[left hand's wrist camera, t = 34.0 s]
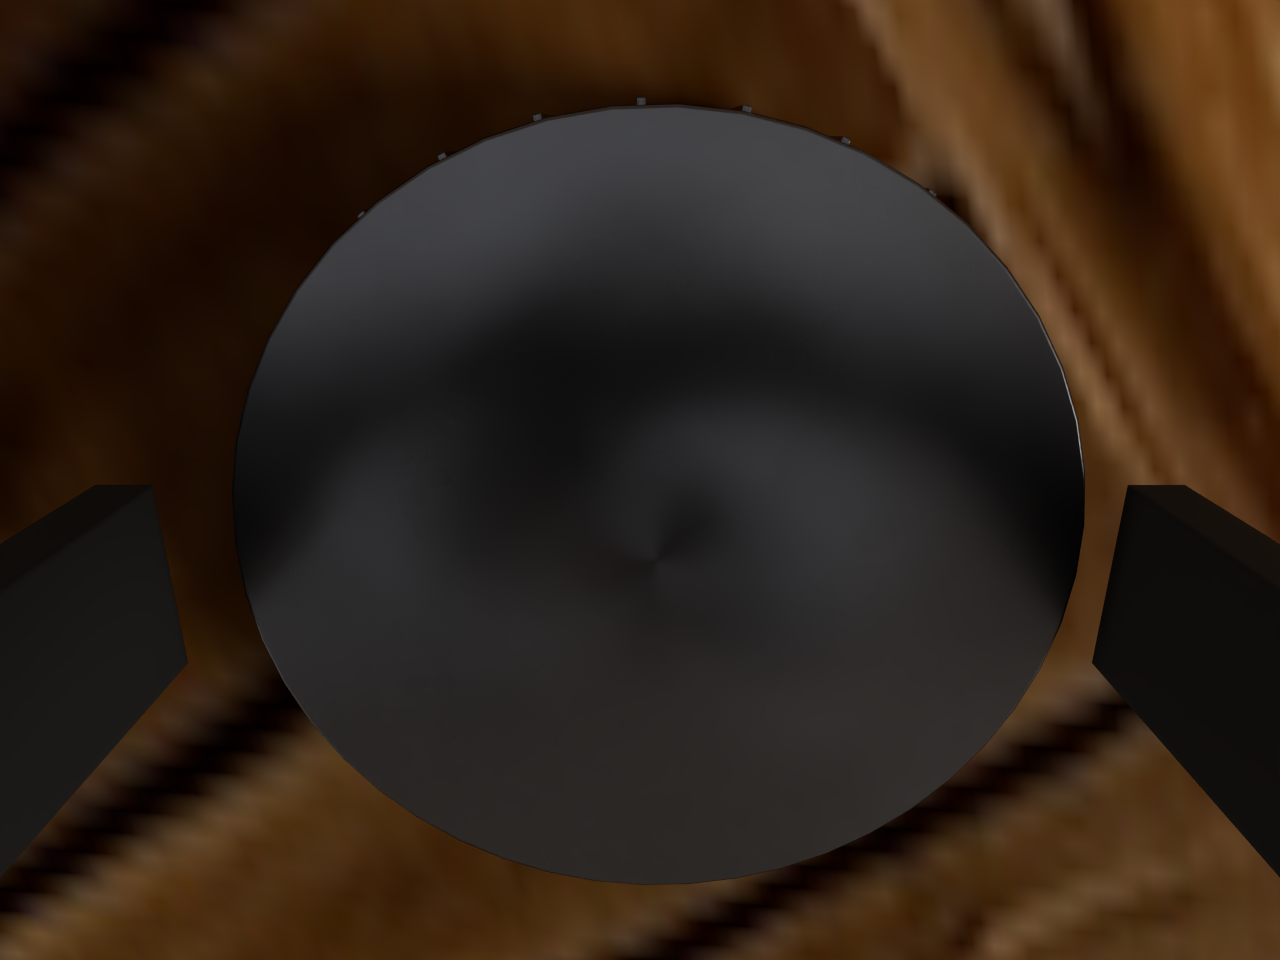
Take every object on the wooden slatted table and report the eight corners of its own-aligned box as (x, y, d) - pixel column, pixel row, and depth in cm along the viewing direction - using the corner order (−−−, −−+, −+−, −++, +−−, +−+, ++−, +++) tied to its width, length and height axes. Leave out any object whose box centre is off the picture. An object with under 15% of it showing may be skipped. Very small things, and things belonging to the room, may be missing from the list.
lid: (1185, 386, 13) (1284, 432, 11) (749, 885, 17) (763, 991, 15) (515, -84, 11) (486, -133, 9) (177, 598, 15) (101, 674, 13)
